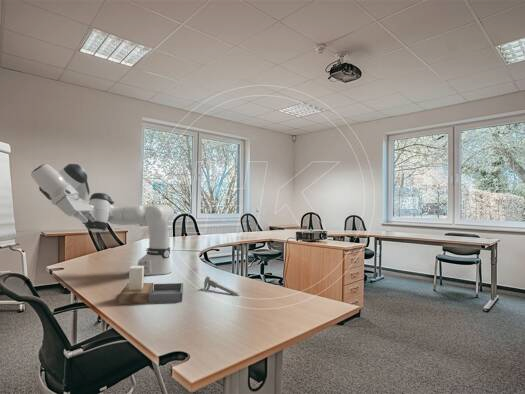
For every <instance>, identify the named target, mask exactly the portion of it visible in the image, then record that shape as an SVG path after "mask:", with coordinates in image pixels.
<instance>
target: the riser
mask: <svg viewBox="0 0 525 394" xmlns="http://www.w3.org/2000/svg"><path fill="white" fill-rule="evenodd" d="M153 290H154V282H143V288H142V290H129V283H126V285H125V286H124V288H123V289H122V290H121V292H120V293H119V294H118V295H119V299H118V304H119V305H128V304H149V294H152V293H153Z"/></svg>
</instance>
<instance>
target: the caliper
mask: <svg viewBox="0 0 525 394" xmlns="http://www.w3.org/2000/svg"><path fill="white" fill-rule="evenodd" d="M203 285H204V286H203V288H204V289H207V290H209V289H210V288H211V287H212V288H213V289H216V288H218V289H219V290H221V291H224V292H226V293H228V294H230V295H233V296H236V297H239V296H240V294H239V293H238V292H237V291H235V290H233V289H230V288H228V287H226V286H224V285H222V284H220V283H218V282H217V281H215V280H213V279H211V276H209V275H206V277H205V278H204V282H203Z"/></svg>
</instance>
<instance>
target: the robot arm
mask: <svg viewBox="0 0 525 394" xmlns="http://www.w3.org/2000/svg"><path fill="white" fill-rule="evenodd" d="M30 176H31V178H32V179H33V180H34V182H35V183H36V184H37V185H38V189H39V192H41V194H43V196H44V197H45V198H47V200H50V203H51V204H52V205H54V206H56V207H57V208H58V209H59V210H61V211H62V212H63V213H64V214H65V215H67V216H69V217H73V218H76V219H77V220H80V221H81V223H82V224H83V225H84V226H85V228H86V229H87V230H89V231H90V232H93V233H101V232H104V231H106V230H107V229H108V225H109V224H108V223H110V224H112V225H119V226H130V225H131V226H132V225H133V226H134V225H147V227H148V234H149V239H148V240H149V242H148V245H149V247H148V248H146V249H145V251H146V254H145V255H143V256H142V257H141V258H140V259H138V262H137V265H136V266H144V276H152V275H153V276H159V275H160V276H161V275H166V274H170V273H172V267H171V259H170V258H171V257H170V254H171V247H170V241H171V240H170V238H171V237H170V236H171V235H170V234H171V233H170V232H169V228H168V223H169V222H170V221H171V220H172V219H173V217H174V216H175V210H174V209H173V207H172V206H170V205H169V204H164V203H163V204H162V203H161V204H143V205H142V204H141V205H140V204H138V205H135V204H134V205H121V206H114V204H115V201H114V200H112V198H111V196H109V195H108V194H107V193H105V192H104V193H103V192H95V193H92V194H91V195H90V187H89V183H88V175H87V172H86V170H85V169H84V168H83V167H82V166H81V165H80V164H77V163H68V164H67V165H66V166H64V167H63V168H62V169H61V170H59V171H58V170H56V169H55V168H54V167H52V165H50V164H48V163H46V164H45V163H44V164H41V165H40V166H38V167H36V168H35V169H34V170H32V171H31V173H30ZM89 195H90V197H89ZM88 198H89V201H88Z"/></svg>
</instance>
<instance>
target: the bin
mask: <svg viewBox="0 0 525 394" xmlns="http://www.w3.org/2000/svg"><path fill="white" fill-rule="evenodd" d="M183 294H184V282H180V283H179V282H177V283H176V282H174V283H173V282H172V283H171V282H169V283H153V293H152V294H149V302H148V304H153V303H154V304H155V303H156V304H157V303H159V304H160V303H179V302H183Z"/></svg>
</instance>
